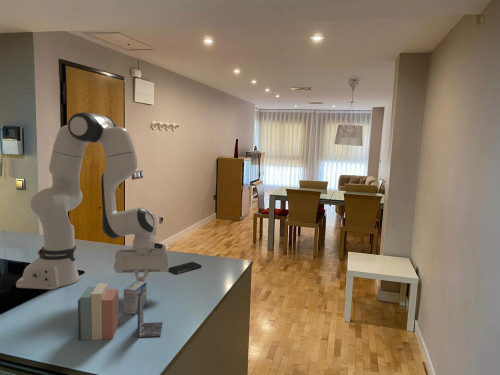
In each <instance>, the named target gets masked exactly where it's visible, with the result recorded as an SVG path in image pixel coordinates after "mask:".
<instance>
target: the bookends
mask: <svg viewBox="0 0 500 375" xmlns="http://www.w3.org/2000/svg"><path fill="white" fill-rule="evenodd" d="M77 322H78V324H77V327H78V328H77V332H78V341H82V340H81V317H80V298H79V299H78V300H77ZM162 328H163V322H162V321H161V322H160V321H159V322H157V321H156V322H144V307H143V288H141V291H140V294H139V297H138V313H137V338H158V337H159V338H160V337H161V334H162Z"/></svg>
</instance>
